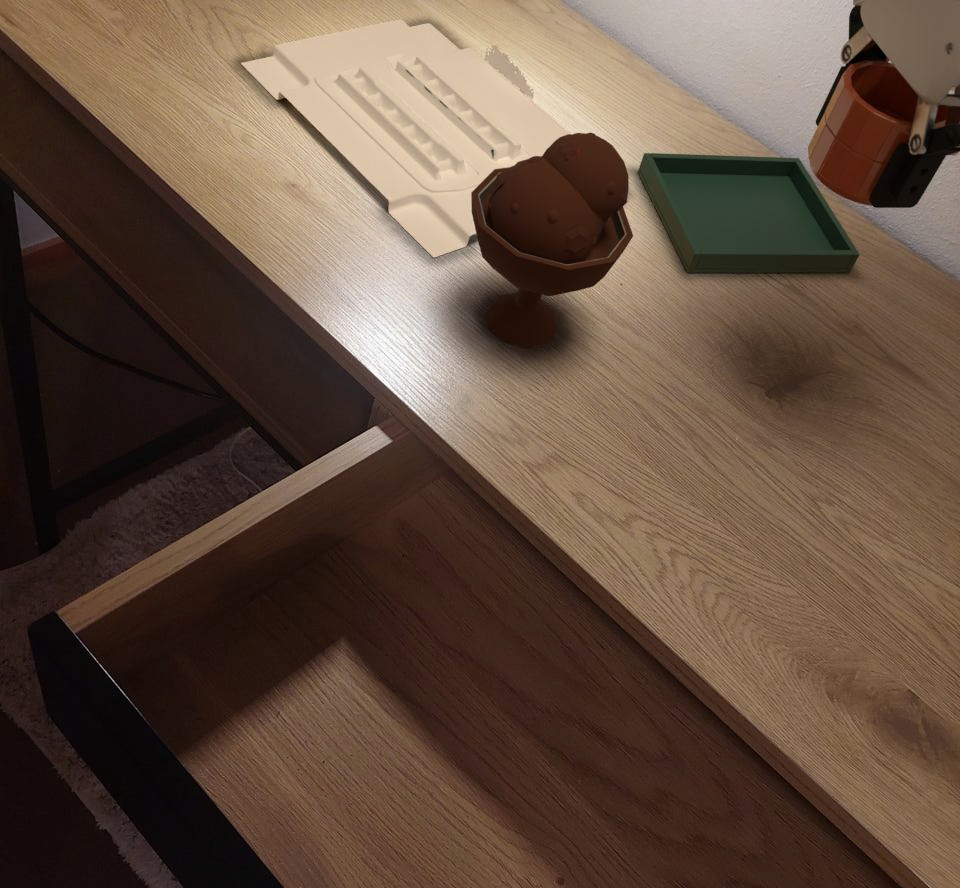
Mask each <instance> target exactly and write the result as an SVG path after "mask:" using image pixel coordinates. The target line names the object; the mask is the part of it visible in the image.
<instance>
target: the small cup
mask: <svg viewBox="0 0 960 888" xmlns="http://www.w3.org/2000/svg"><path fill="white" fill-rule="evenodd" d="M917 101H918V95H917V93H916V92H915V91H914V90H913V89H912V87H911V86H910V85H909V84H908V83H907V81H906V80H905V79H904V78H903V76H902V75H901V74H900V73H899V71H898V70H897V69H896V68H895V66H894V65H893V64H892V63H891V62H890V61H889V62H884V61H861V62H858V63H854V64H851V65H850V66H849V67H848V68H847V69H846V71H845V72H844V73H843V75H842V77H841V79H840V81H839V83H838V85H837V87H836V89H835V92H834V94H833V96H832V98H831V100H830V102H829V104H828V106H827V108H826V111H825V113H824V115H823V117H822V119H821V121H820V123H819V125H818V126H817V127H816V130H815V131H814V133H813V136H812V138H811V140H810V142H809V144H808V147H807V155H808V161H809V167H810V169H811V172H812V173H813V175H814V176H815V177H816V179H817V180H818V181H819V182H820V183H821V184H822V185H823V186H824V187H826V188H827V189H828V190H830V191H831V192H833V193H835V194H836V195H837V196H839V197H842V198H844V199H846V200H849V201H851V202H854V203H857V204H861V205H864V206H869V207H870V206H871V207H873V206H872V204H871V203H870V201H869V198H870V194H871V192H872V191H873V189H874V187H875V185H876V183H877V182H878V180H879V178H880V176H881V174H882V172H883V171H884V169H885V167H886V165H887V163H888V162H889V160H890V158H891V156H892V154H893V152H894V151H895V149H896V147H897V146H898V145H899V143H908V144H909V139H910V134H911V129H912V124H913V120H914V115H915V110H916V106H917ZM948 109H949V106H938V110H937V114H936V119H935V123H934V128H933V130H934V129H937V128H940V127H943V126H945V122H946V118H947V113H948Z"/></svg>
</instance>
